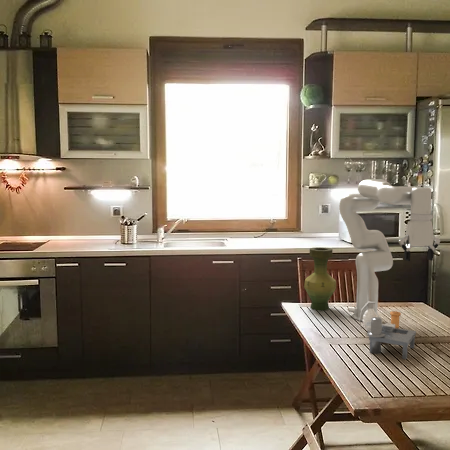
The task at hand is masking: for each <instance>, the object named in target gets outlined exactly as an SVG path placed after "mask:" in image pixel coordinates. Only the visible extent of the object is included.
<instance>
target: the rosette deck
mask: <svg viewBox="0 0 450 450" xmlns="http://www.w3.org/2000/svg"><path fill="white" fill-rule="evenodd" d="M366 326H371V331H367V333H366V336H367V337H368V340H369V353H371V354H375V355H376V354H377V355H379V354H382V352H381V351H382V343H384V344H390V345H395V346H396V345H397V346H401V347H402V354H401V355H402V356H401V357H402V359H403V360H407V359H408V348H410V349H414V348H415V341H416V339H415V338H416V337H415V336H416V334H417V331H416V330H411V329H405V328H400V327H399V328H395V324H391V322H389V323H388V322H385V323H383V319H382V318H378V317H372V318H371V322H367V323H366Z"/></svg>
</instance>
